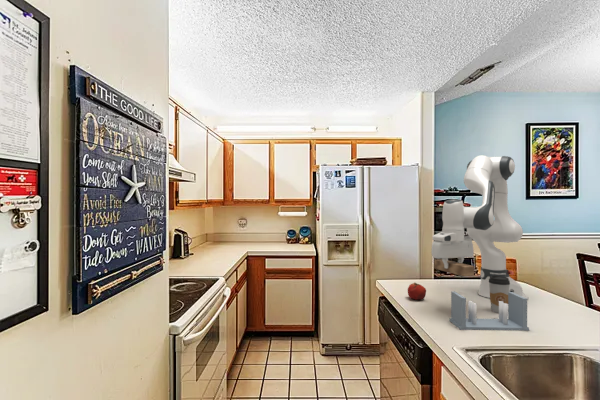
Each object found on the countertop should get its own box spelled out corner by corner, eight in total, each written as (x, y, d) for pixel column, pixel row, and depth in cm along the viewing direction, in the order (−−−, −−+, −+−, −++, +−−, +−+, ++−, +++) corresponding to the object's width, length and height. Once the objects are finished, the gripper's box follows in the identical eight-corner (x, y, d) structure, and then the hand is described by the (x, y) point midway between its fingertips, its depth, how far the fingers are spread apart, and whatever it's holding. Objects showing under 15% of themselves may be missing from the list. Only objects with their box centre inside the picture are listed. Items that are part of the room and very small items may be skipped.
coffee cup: (490, 313, 153) (490, 278, 153) (487, 307, 161) (487, 275, 161) (511, 315, 150) (512, 280, 150) (507, 309, 158) (507, 276, 158)
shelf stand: (513, 321, 143) (513, 292, 143) (529, 330, 133) (529, 298, 133) (449, 320, 144) (449, 291, 144) (459, 329, 134) (459, 298, 134)
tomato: (418, 296, 180) (418, 280, 180) (430, 301, 172) (430, 284, 172) (403, 297, 178) (403, 281, 178) (414, 302, 169) (414, 286, 169)
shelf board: (434, 268, 161) (434, 259, 161) (443, 267, 162) (443, 259, 162) (464, 276, 144) (464, 266, 144) (473, 275, 145) (473, 266, 145)
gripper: (466, 234, 160) (466, 265, 160) (429, 236, 153) (429, 267, 153) (477, 236, 154) (477, 267, 154) (439, 237, 147) (439, 270, 147)
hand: (452, 267), depth 153 cm, fingers closed on shelf board, 5 cm apart
